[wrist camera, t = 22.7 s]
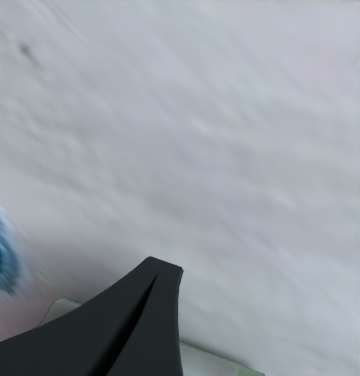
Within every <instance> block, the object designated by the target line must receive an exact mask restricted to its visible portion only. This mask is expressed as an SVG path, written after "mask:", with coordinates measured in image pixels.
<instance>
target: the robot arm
mask: <svg viewBox="0 0 360 376" xmlns="http://www.w3.org/2000/svg"><path fill="white" fill-rule="evenodd" d="M182 275H183V269H182V267H180V266H177V265H174V264H171V263H168V262H165V261H162V260H160V259H157V258H154V257H151V256H150V257H147V258H146V259H145V260H144V261H143V262H142V263H140V264H139V265H138V266H137V267H136V268H134V269H133V270H132V271H131V272H129V273H128V274H127V275H126V276H124V277H123V278H122V279H120V280H119V281H118V282H116V283H115V284H113V285H112V286H111V287H109V288H108V289H106V290H105V291H103V292H102V293H100V294H99V295H97V296H95V297H94V298H92V299H91V300H89V301H88V302H86V303H84V304H82V305H81V306H79V307H77V308H75V309H74V310H72V311H70V312H68V313H66V314H64V315H62V316H60V317H58V318H56V319H54V320H52V321H50V322H48V323H46V324H44V325H41V326H39V327H37V328H34V329H32V330H30V331H27V332H25V333H22V334H19V335H17V336H14V337H12V338H9V339H6V340H4V341H1V342H0V376H184V375H183V369H182V362H181V354H180V345H179V332H178V295H179V286H180V282H181V278H182Z"/></svg>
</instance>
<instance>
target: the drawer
mask: <svg viewBox="0 0 360 376" xmlns="http://www.w3.org/2000/svg"><path fill="white" fill-rule="evenodd" d="M81 305H82V304H81V303H79V302H76V301H73V300H71V299H68V298H66V297H62V299H58V300H57V301H55V302H54V303H53V305H52V306H51V307H50V309H49V310H48V312H47V314H46V316H45V318H44V319H43V321H42V322H41V323H40V324H39V325H38V326H37V327H39V326H41V325H44V324H46V323H48V322H50V321H52V320H54V319H56V318H58V317H60V316H62V315H64V314H66V313H68V312H70V311H72V310H74V309H75V308H77V307H79V306H81ZM179 345H180V354H181V362H182V369H183V375H184V376H265V374H263V373H260V372H257V371H255V370H252V369H250V368H247V367H244V366H242V365H239V364H237V363H234V362H232V361H229V360H226V359H224V358H221V357H219V356H216V355H213V354H211V353H208V352H206V351H203V350H200V349H198V348H195V347H193V346H190V345H187V344H185V343H182V342H180V341H179Z"/></svg>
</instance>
